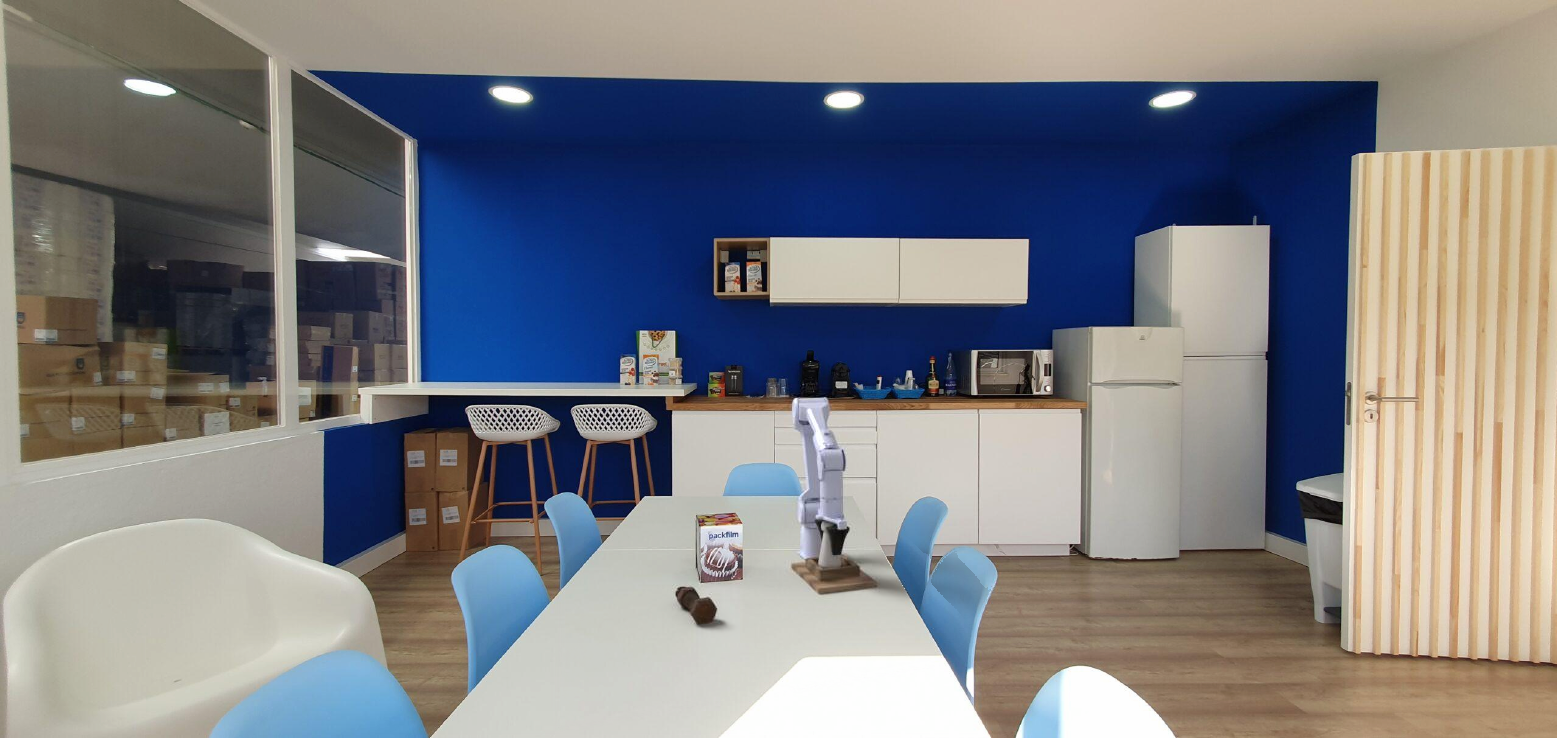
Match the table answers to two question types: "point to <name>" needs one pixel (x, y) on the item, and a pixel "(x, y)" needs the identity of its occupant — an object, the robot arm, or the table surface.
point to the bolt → (696, 605)
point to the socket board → (833, 575)
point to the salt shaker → (828, 550)
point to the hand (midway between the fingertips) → (832, 551)
